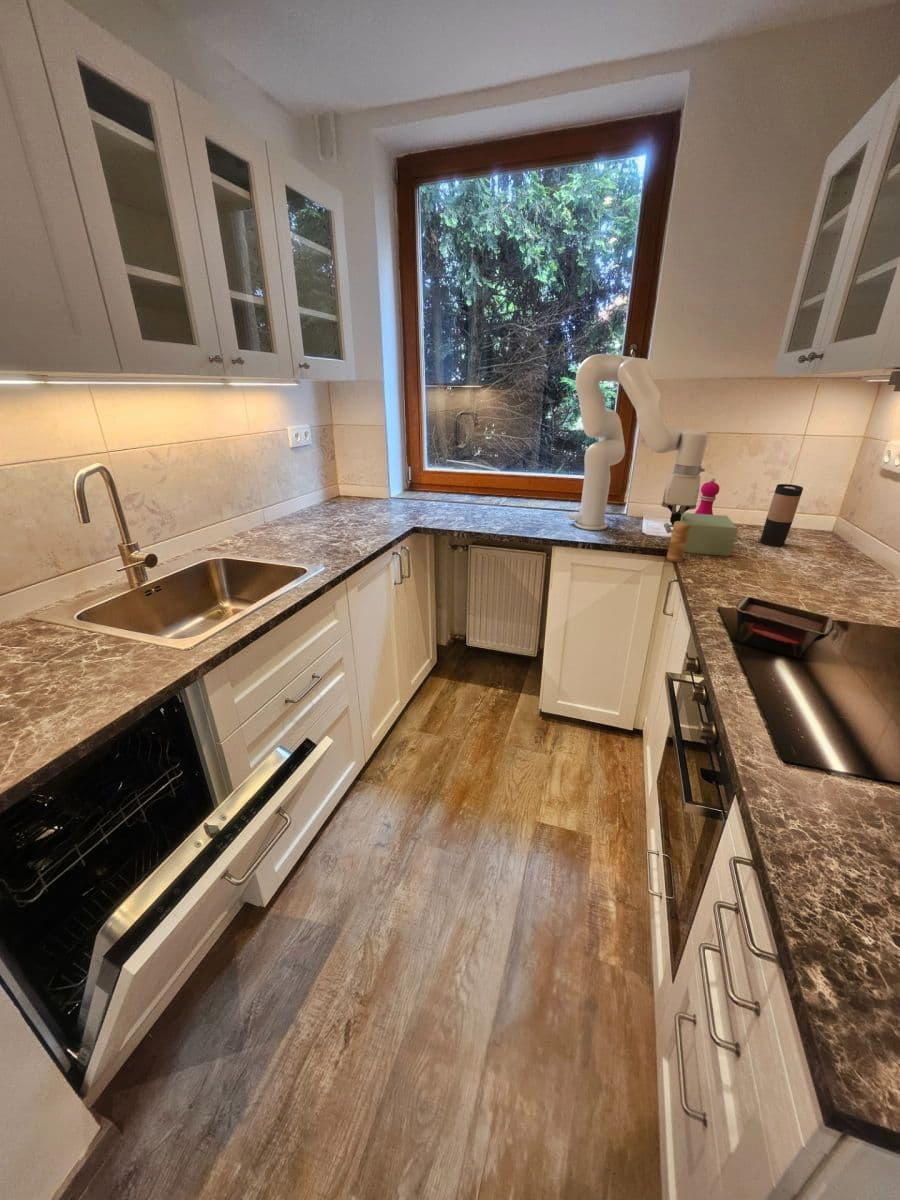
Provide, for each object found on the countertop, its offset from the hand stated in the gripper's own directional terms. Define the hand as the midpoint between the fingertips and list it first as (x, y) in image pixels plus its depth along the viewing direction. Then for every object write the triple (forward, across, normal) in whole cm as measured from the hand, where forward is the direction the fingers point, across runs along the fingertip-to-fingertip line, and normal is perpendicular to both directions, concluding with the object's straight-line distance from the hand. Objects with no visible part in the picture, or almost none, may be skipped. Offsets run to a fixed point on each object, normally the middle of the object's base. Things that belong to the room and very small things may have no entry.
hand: (674, 524), depth 162 cm
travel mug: (+7, -35, -11) cm, 38 cm away
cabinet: (+7, -10, 0) cm, 12 cm away
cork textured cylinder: (+7, 0, +15) cm, 17 cm away
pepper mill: (+7, -13, -19) cm, 24 cm away
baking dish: (+7, -14, +64) cm, 66 cm away
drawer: (+6, -6, 0) cm, 9 cm away
